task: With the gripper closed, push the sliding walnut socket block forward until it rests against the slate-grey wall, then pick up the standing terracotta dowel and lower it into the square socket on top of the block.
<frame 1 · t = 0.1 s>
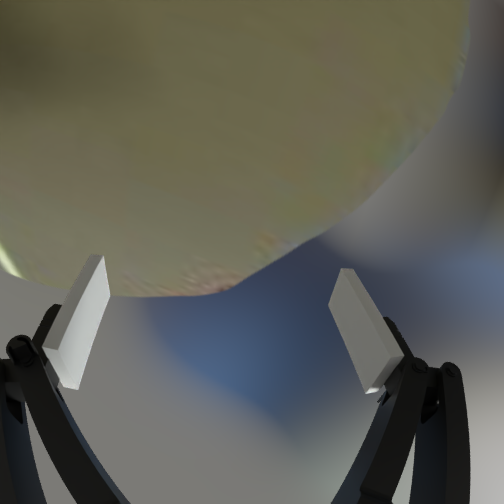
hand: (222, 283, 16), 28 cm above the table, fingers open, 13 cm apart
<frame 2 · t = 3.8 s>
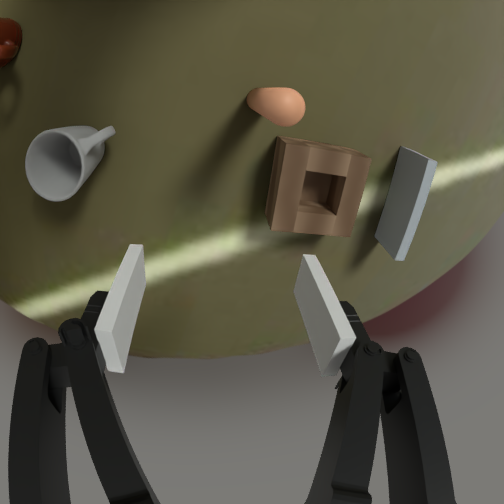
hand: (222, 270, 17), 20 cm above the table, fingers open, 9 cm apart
block: (315, 186, 34), point 3 cm above the table, slide at 0.0 cm
mug: (13, 46, 21), on the table
cup: (93, 142, 30), on the table
dowel: (259, 99, 30), on the table
wall: (392, 193, 38), on the table
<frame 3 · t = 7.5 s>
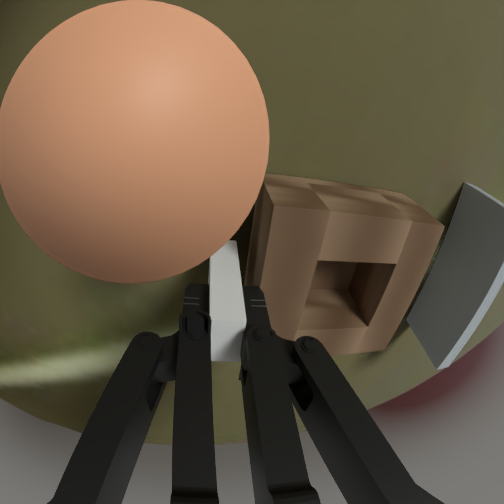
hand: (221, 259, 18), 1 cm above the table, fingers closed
block: (333, 272, 18), point 3 cm above the table, slide at 1.0 cm, touching gripper
dowel: (201, 98, 14), on the table
wall: (441, 258, 22), on the table
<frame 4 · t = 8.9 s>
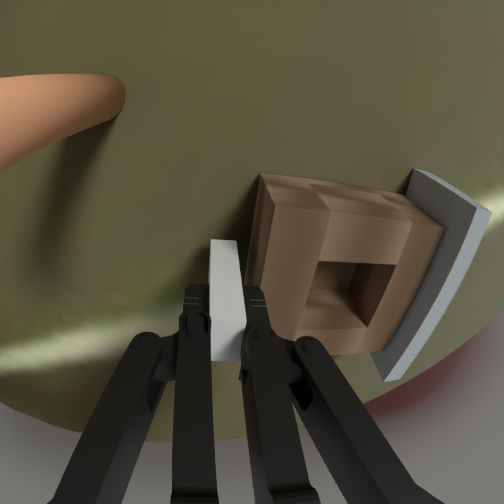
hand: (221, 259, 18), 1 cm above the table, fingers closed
block: (333, 273, 18), point 3 cm above the table, slide at 6.7 cm, touching gripper
dowel: (102, 98, 13), on the table
wall: (392, 256, 21), on the table
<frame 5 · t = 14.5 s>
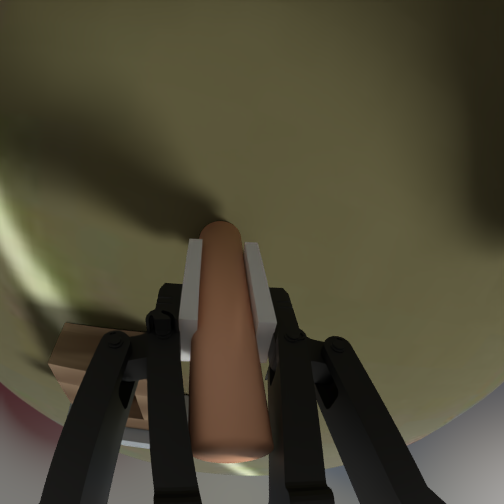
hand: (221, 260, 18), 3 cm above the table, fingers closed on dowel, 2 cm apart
block: (118, 383, 24), point 3 cm above the table, slide at 6.7 cm
dowel: (220, 240, 20), on the table, touching gripper
wall: (133, 393, 29), on the table
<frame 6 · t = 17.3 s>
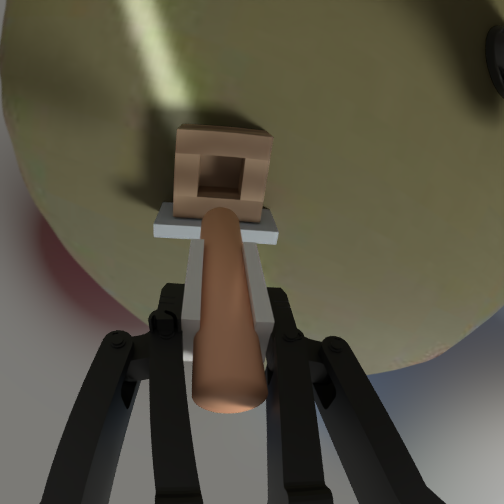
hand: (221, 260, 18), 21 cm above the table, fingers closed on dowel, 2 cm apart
block: (220, 171, 33), point 3 cm above the table, slide at 6.7 cm
dowel: (220, 224, 22), point 16 cm above the table, touching gripper
wall: (216, 210, 38), on the table
when the fingers open (6 cm above the table, at t = 20.2 s): dowel stays where it is, resting on block.
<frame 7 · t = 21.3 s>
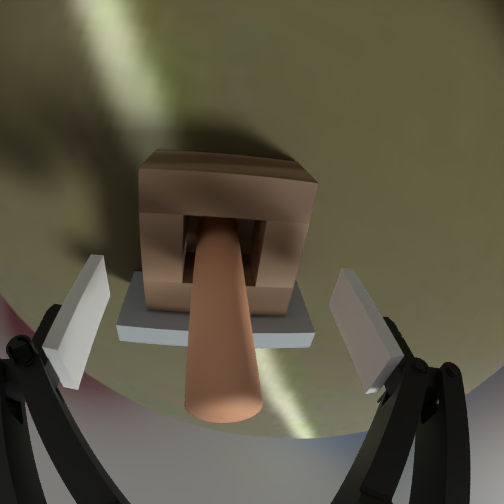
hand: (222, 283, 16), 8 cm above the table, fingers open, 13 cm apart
block: (221, 234, 20), point 3 cm above the table, slide at 6.7 cm, touching dowel
dowel: (217, 227, 21), point 1 cm above the table, touching block
wall: (215, 283, 25), on the table
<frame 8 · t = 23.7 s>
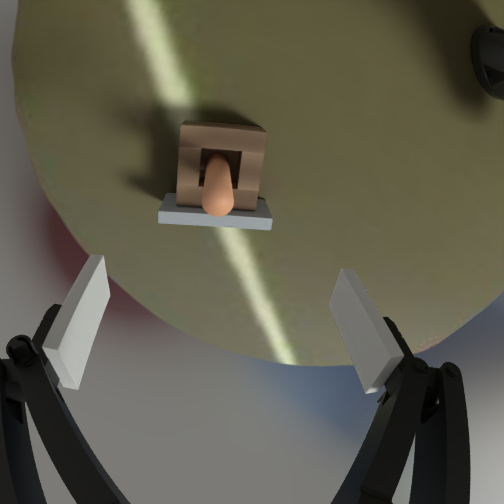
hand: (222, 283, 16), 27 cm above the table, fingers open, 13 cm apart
block: (219, 163, 36), point 3 cm above the table, slide at 6.7 cm, touching dowel
dowel: (217, 162, 37), point 1 cm above the table, touching block
wall: (215, 200, 41), on the table
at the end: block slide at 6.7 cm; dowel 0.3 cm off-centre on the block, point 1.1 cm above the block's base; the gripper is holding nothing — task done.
